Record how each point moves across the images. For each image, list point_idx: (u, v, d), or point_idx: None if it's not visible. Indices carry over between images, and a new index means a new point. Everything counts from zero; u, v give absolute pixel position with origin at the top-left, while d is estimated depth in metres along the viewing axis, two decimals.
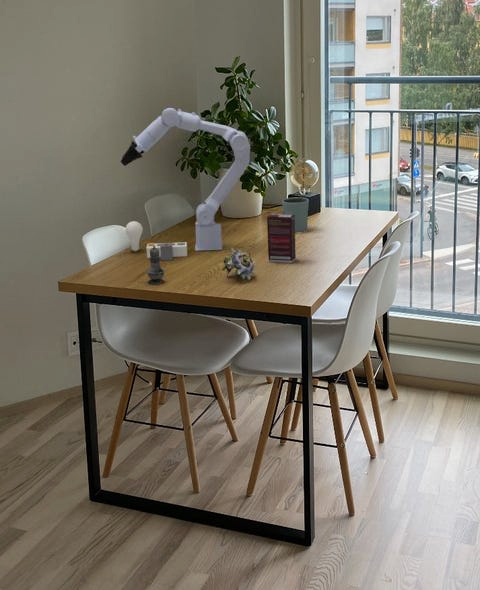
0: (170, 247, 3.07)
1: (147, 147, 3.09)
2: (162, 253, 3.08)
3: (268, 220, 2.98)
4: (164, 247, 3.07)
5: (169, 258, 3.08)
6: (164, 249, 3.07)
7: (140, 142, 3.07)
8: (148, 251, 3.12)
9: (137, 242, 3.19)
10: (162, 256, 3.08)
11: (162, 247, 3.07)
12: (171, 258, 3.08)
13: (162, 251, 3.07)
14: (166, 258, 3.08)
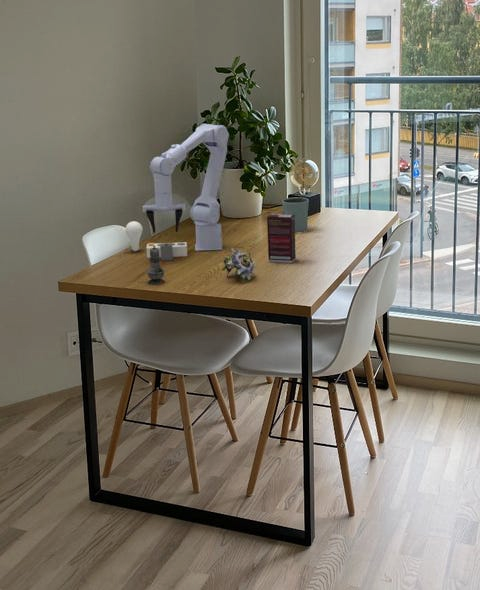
0: (170, 247, 3.07)
1: None
2: (162, 253, 3.08)
3: (268, 220, 2.98)
4: (164, 247, 3.07)
5: (169, 258, 3.08)
6: (164, 249, 3.07)
7: (171, 204, 3.04)
8: (148, 251, 3.12)
9: (137, 242, 3.19)
10: (162, 256, 3.08)
11: (162, 247, 3.07)
12: (171, 258, 3.08)
13: (162, 251, 3.07)
14: (166, 258, 3.08)
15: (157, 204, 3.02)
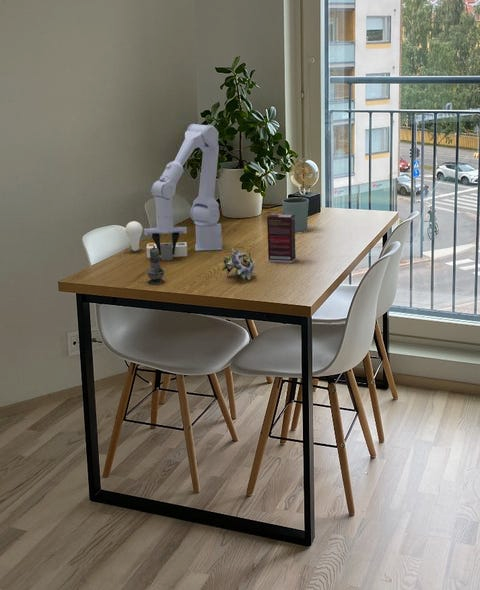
0: (170, 247, 3.07)
1: None
2: (162, 253, 3.08)
3: (268, 220, 2.98)
4: (164, 247, 3.07)
5: (169, 258, 3.08)
6: (164, 249, 3.07)
7: (173, 227, 3.06)
8: (148, 251, 3.12)
9: (137, 242, 3.19)
10: (162, 256, 3.08)
11: (162, 247, 3.07)
12: (171, 258, 3.08)
13: (162, 251, 3.07)
14: (166, 258, 3.08)
15: (159, 227, 3.05)
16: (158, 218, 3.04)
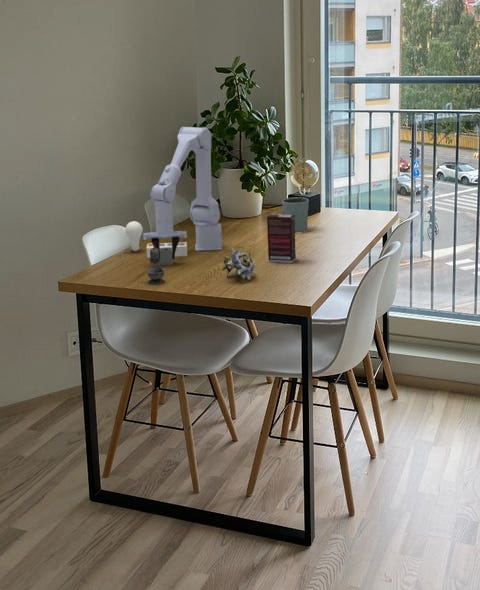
0: (170, 252, 3.01)
1: None
2: (162, 258, 3.02)
3: (268, 220, 2.98)
4: (164, 252, 3.01)
5: (169, 263, 3.02)
6: (163, 254, 3.01)
7: (172, 232, 3.00)
8: (148, 251, 3.12)
9: (137, 242, 3.19)
10: (162, 261, 3.02)
11: (162, 252, 3.01)
12: (171, 263, 3.02)
13: (162, 256, 3.01)
14: (166, 263, 3.02)
15: (158, 231, 2.99)
16: (158, 222, 2.98)
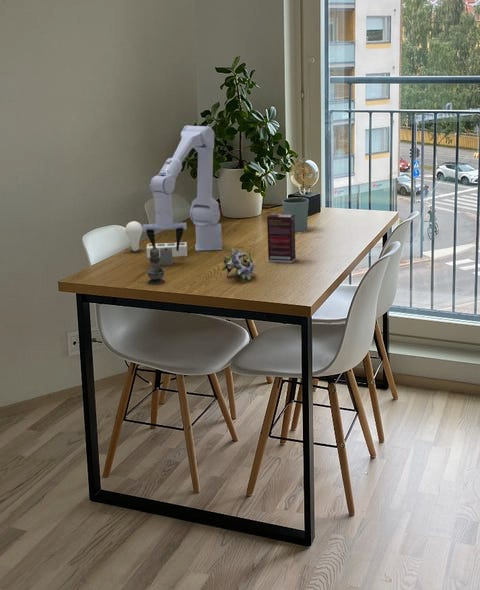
0: (170, 252, 3.01)
1: None
2: (162, 258, 3.02)
3: (268, 220, 2.98)
4: (164, 252, 3.01)
5: (169, 263, 3.02)
6: (163, 254, 3.01)
7: (172, 223, 2.99)
8: (148, 251, 3.12)
9: (137, 242, 3.19)
10: (162, 261, 3.02)
11: (162, 252, 3.01)
12: (171, 263, 3.02)
13: (162, 256, 3.01)
14: (166, 263, 3.02)
15: (158, 223, 2.98)
16: (157, 214, 2.97)
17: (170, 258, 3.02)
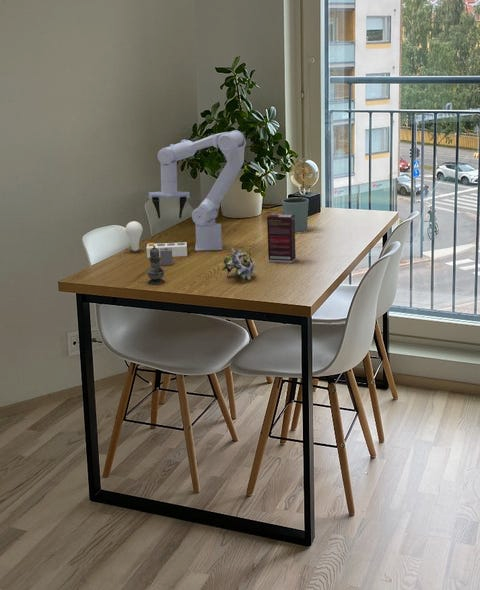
0: (170, 252, 3.01)
1: None
2: (162, 258, 3.02)
3: (268, 220, 2.98)
4: (164, 252, 3.01)
5: (169, 263, 3.02)
6: (163, 254, 3.01)
7: (176, 192, 3.21)
8: (148, 251, 3.12)
9: (137, 242, 3.19)
10: (162, 261, 3.02)
11: (162, 252, 3.01)
12: (171, 263, 3.02)
13: (162, 256, 3.01)
14: (166, 263, 3.02)
15: (163, 191, 3.20)
16: (163, 182, 3.19)
17: (170, 258, 3.02)
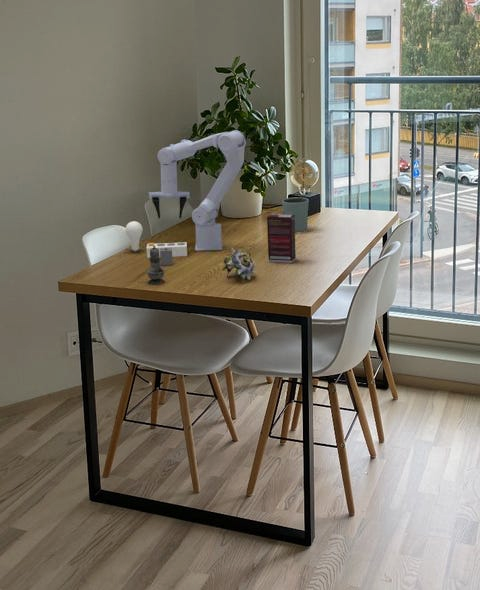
0: (170, 252, 3.01)
1: None
2: (162, 258, 3.02)
3: (268, 220, 2.98)
4: (164, 252, 3.01)
5: (169, 263, 3.02)
6: (163, 254, 3.01)
7: (176, 192, 3.21)
8: (148, 251, 3.12)
9: (137, 242, 3.19)
10: (162, 261, 3.02)
11: (162, 252, 3.01)
12: (171, 263, 3.02)
13: (162, 256, 3.01)
14: (166, 263, 3.02)
15: (163, 191, 3.20)
16: (163, 182, 3.19)
17: (170, 258, 3.02)
